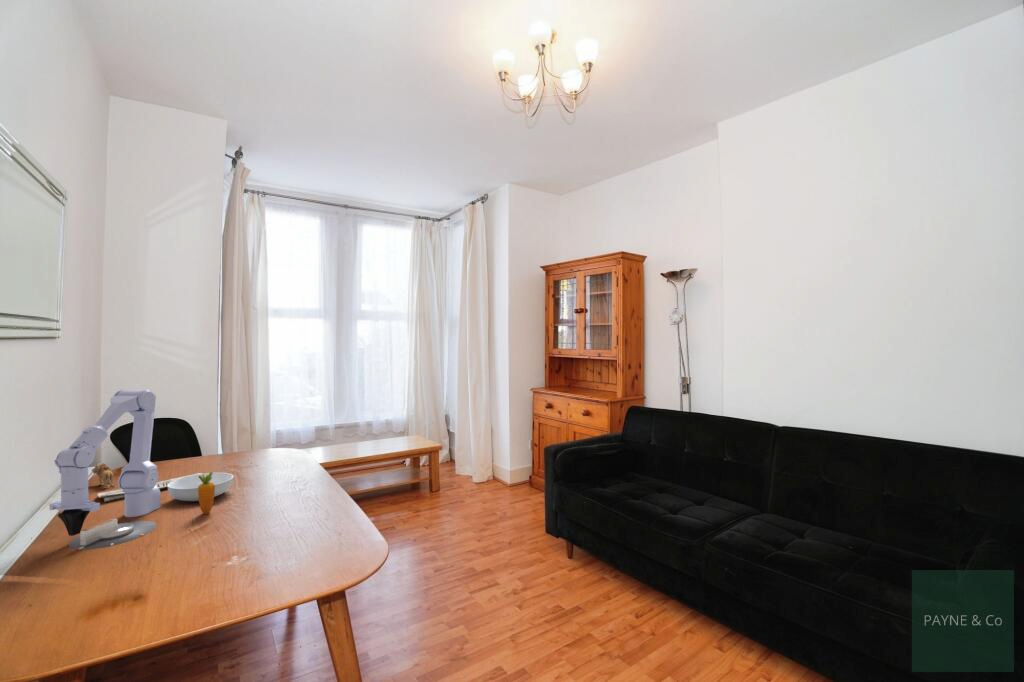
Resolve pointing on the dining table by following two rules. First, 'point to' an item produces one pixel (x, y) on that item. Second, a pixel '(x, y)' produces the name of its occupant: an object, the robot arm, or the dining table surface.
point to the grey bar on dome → (105, 531)
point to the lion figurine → (104, 474)
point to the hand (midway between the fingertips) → (74, 534)
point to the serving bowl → (189, 485)
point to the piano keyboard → (119, 494)
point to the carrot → (206, 493)
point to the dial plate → (139, 531)
